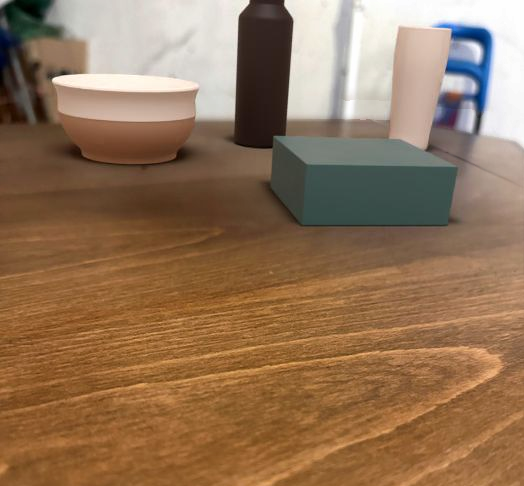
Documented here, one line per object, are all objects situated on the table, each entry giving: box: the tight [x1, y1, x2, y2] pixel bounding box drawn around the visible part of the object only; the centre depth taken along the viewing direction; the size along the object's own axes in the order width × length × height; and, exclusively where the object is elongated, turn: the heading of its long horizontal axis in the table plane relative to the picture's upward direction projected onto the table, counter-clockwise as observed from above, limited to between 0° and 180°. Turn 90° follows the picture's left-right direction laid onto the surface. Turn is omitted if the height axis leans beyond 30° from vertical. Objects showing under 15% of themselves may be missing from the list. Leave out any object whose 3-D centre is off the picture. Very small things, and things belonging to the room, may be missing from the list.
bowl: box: [51, 73, 201, 165], centre depth 75 cm, size 16×16×8 cm
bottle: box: [233, 0, 295, 149], centre depth 84 cm, size 7×7×20 cm
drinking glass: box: [387, 25, 453, 151], centre depth 87 cm, size 7×7×15 cm
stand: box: [269, 135, 459, 226], centre depth 61 cm, size 13×13×5 cm
